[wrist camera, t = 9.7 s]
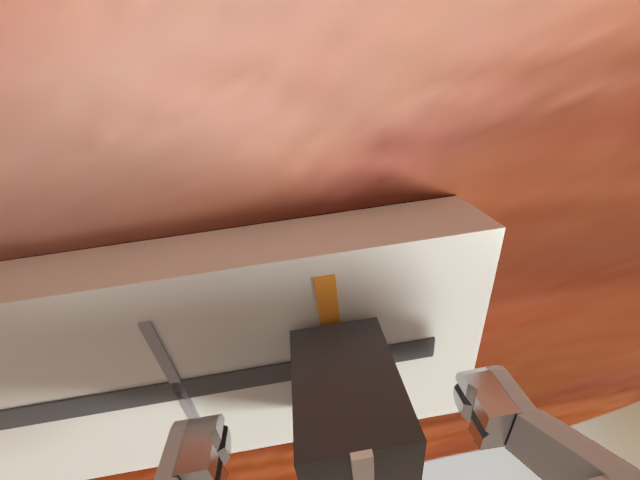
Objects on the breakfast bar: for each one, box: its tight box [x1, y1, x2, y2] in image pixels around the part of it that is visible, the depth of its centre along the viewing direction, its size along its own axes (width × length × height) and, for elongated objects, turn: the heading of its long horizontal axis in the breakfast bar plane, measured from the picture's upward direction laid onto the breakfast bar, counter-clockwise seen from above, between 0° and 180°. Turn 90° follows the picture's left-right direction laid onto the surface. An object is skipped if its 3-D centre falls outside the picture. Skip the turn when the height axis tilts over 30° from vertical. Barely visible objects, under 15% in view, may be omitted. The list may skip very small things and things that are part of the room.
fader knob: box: [290, 317, 427, 480], centre depth 10 cm, size 3×5×4 cm, turn 6°
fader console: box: [0, 195, 506, 480], centre depth 13 cm, size 24×10×3 cm, turn 96°
